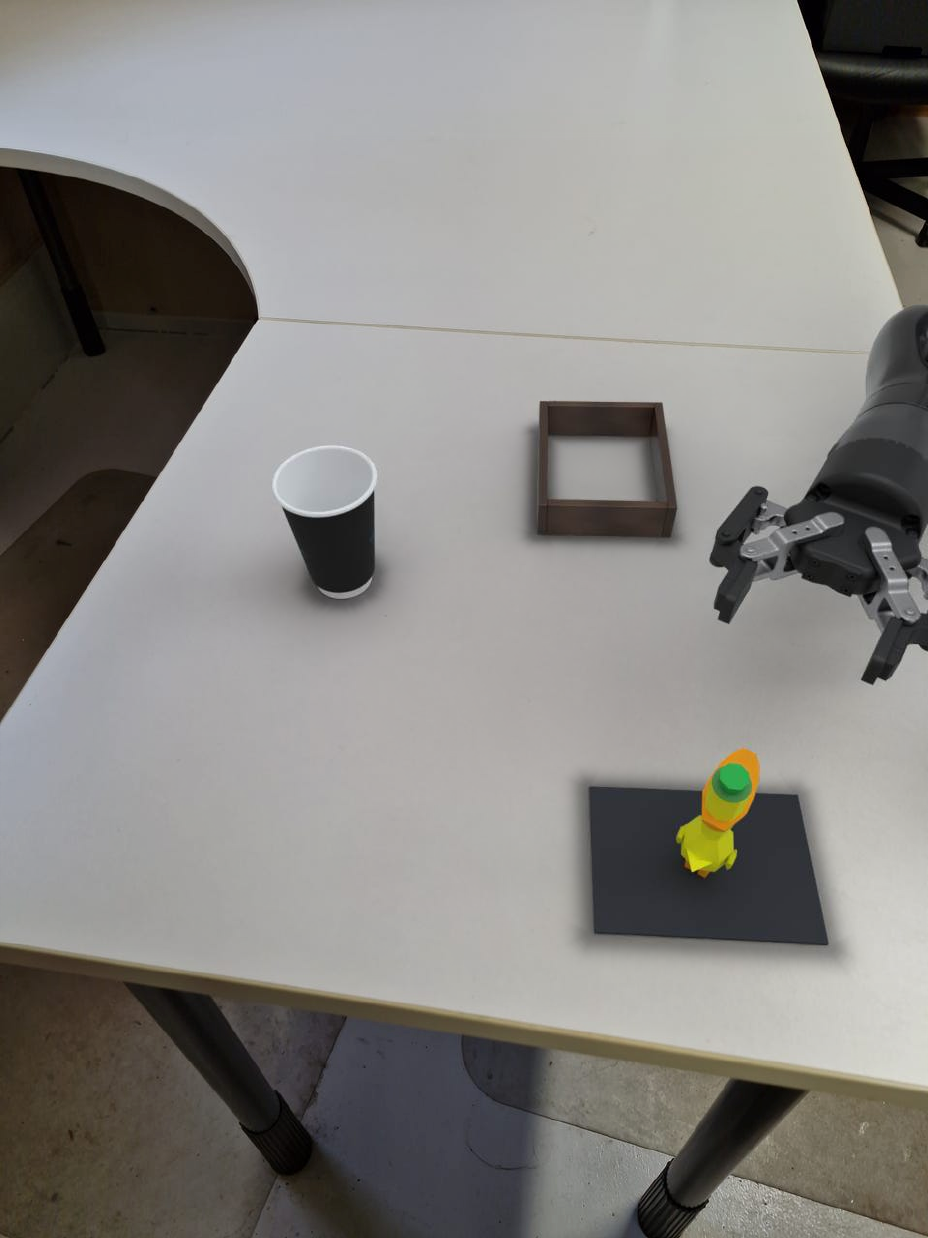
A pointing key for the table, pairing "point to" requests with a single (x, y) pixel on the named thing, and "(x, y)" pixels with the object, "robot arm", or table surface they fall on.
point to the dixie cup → (331, 515)
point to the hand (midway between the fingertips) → (795, 642)
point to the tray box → (606, 513)
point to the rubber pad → (683, 900)
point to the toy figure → (720, 814)
